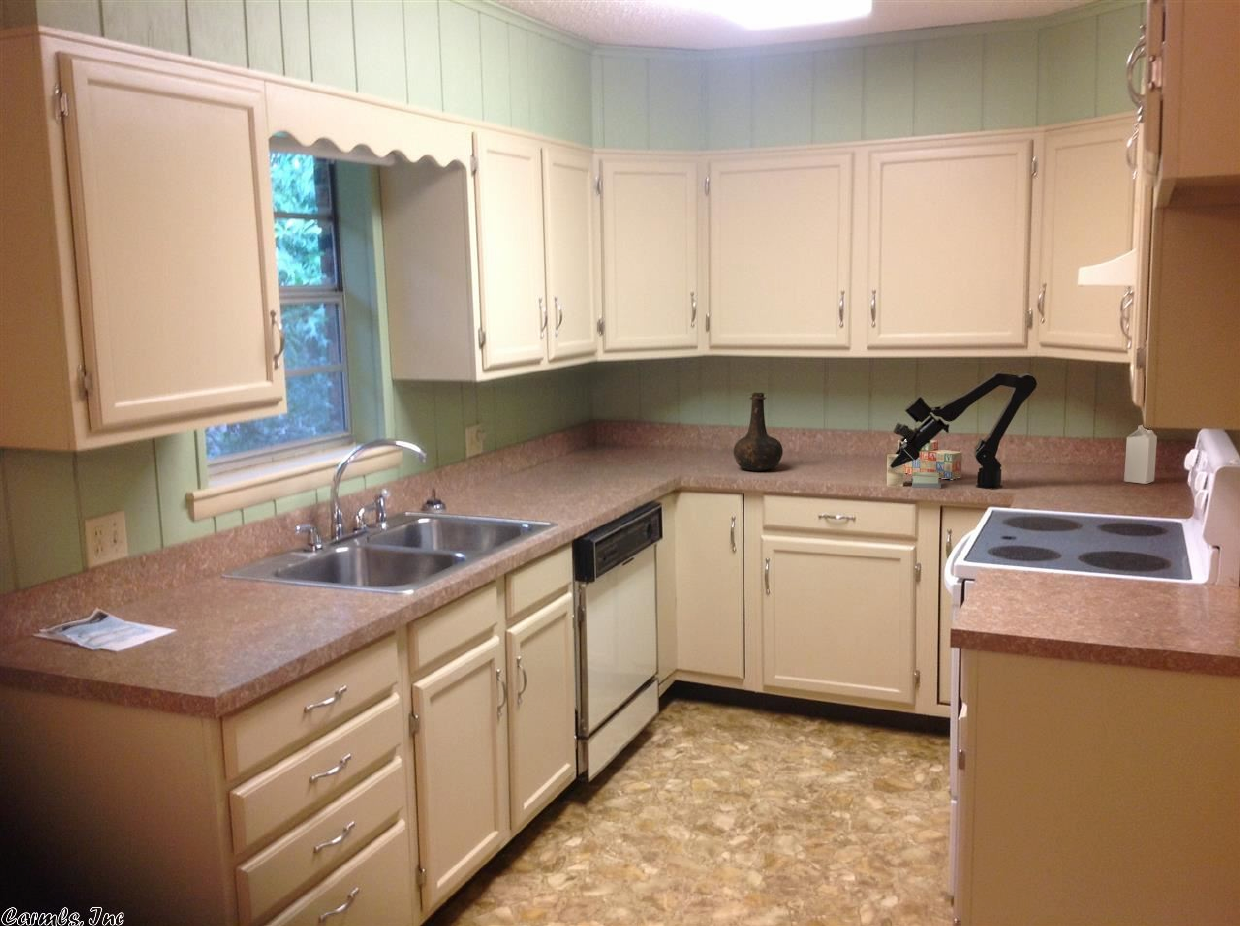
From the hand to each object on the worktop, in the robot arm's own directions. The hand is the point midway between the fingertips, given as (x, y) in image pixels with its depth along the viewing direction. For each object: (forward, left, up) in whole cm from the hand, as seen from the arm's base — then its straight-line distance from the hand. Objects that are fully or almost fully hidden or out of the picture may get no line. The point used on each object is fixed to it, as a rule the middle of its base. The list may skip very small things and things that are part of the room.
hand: (890, 464), depth 358 cm
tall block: (-1, -1, -7) cm, 7 cm away
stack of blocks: (0, -23, -7) cm, 24 cm away
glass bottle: (+52, +6, -7) cm, 53 cm away
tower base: (-9, -7, -7) cm, 13 cm away
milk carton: (-57, -59, -7) cm, 82 cm away
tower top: (-9, -6, -5) cm, 12 cm away
